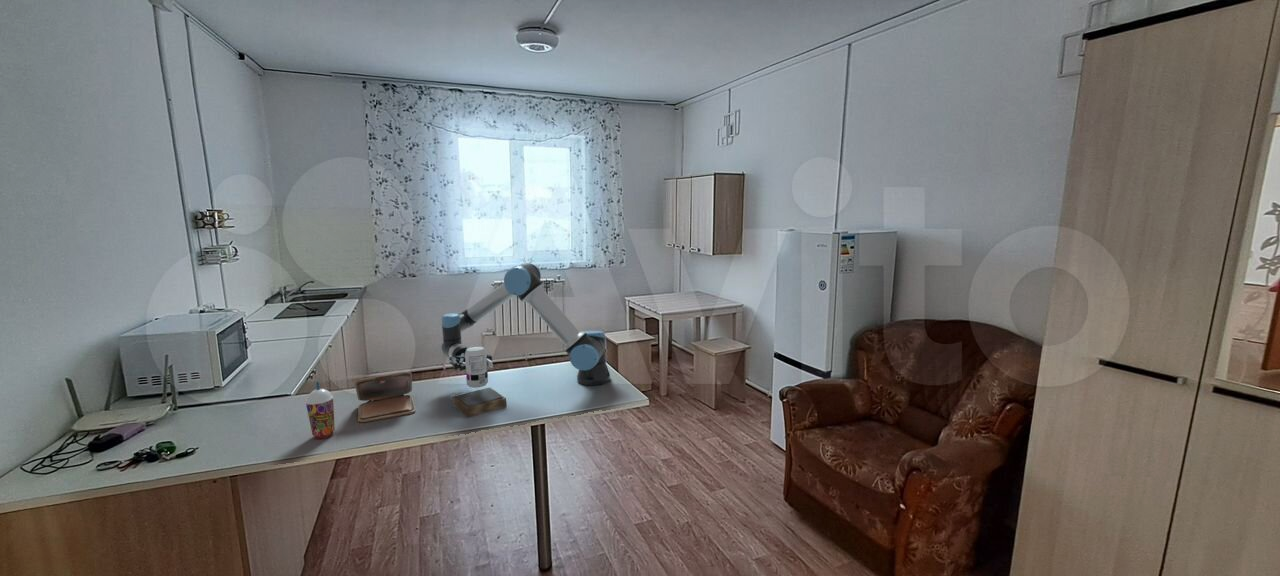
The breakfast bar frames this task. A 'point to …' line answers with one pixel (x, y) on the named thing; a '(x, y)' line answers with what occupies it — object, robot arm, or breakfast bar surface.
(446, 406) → the breakfast bar surface
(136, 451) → the breakfast bar surface
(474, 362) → the supplement can
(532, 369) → the breakfast bar surface
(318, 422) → the smoothie
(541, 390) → the breakfast bar surface
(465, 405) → the podium
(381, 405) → the case
